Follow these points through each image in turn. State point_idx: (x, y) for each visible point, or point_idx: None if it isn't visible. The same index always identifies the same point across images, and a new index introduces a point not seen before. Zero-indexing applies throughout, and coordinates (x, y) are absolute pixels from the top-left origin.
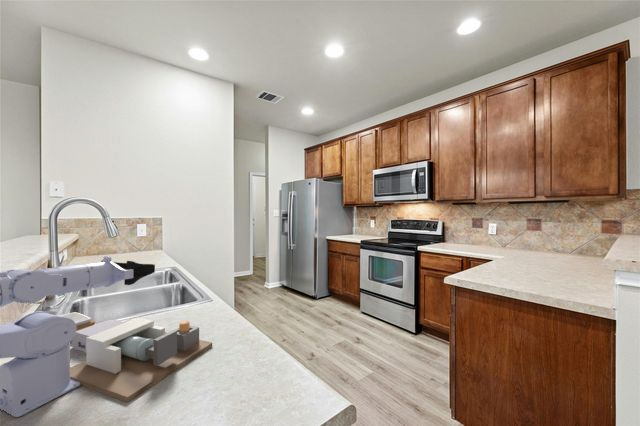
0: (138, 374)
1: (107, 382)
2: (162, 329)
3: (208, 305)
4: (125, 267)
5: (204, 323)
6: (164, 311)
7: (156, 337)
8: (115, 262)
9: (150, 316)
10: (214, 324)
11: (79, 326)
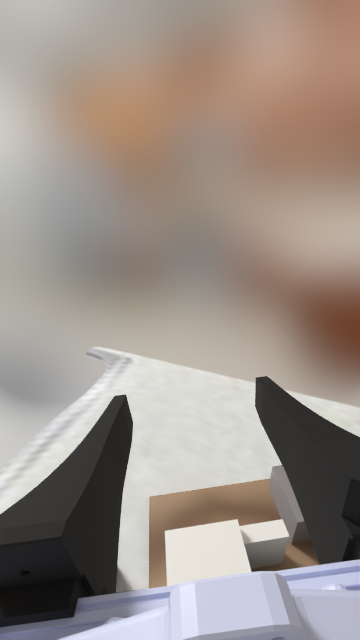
0: None
1: None
2: (285, 529)
3: (141, 372)
4: (117, 444)
5: (208, 418)
6: (73, 420)
7: (269, 552)
8: (92, 473)
9: (60, 449)
10: (230, 412)
11: None
